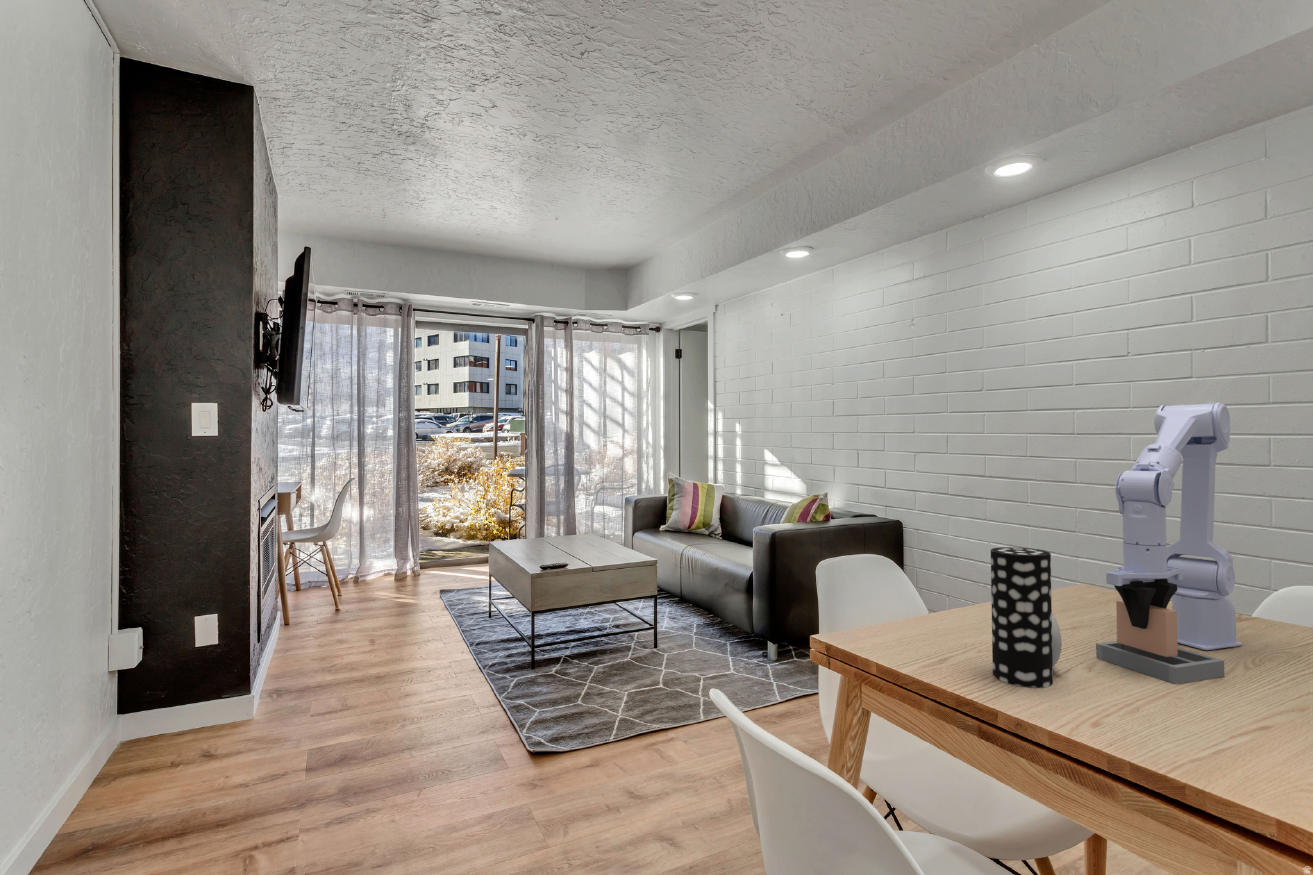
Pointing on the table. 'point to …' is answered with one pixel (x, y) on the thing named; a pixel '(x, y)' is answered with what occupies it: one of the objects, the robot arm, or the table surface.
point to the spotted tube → (1021, 616)
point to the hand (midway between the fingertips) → (1146, 626)
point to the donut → (1055, 641)
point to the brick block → (1149, 631)
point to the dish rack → (1162, 663)
